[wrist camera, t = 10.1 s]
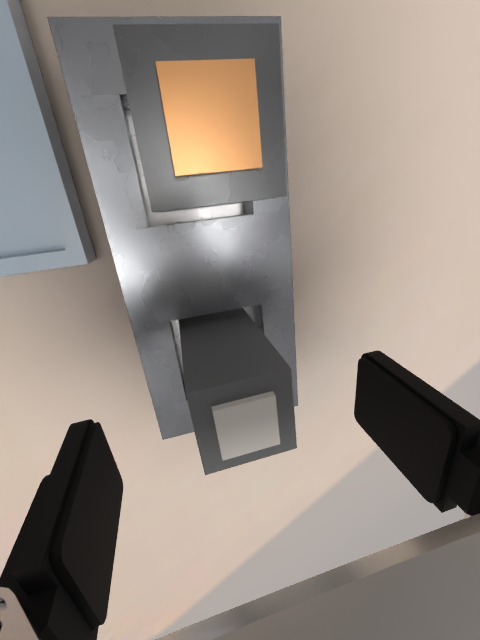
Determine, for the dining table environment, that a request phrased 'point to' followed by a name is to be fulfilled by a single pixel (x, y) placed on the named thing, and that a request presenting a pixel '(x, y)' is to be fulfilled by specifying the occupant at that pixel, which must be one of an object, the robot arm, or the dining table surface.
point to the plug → (235, 390)
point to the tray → (33, 164)
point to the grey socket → (186, 176)
